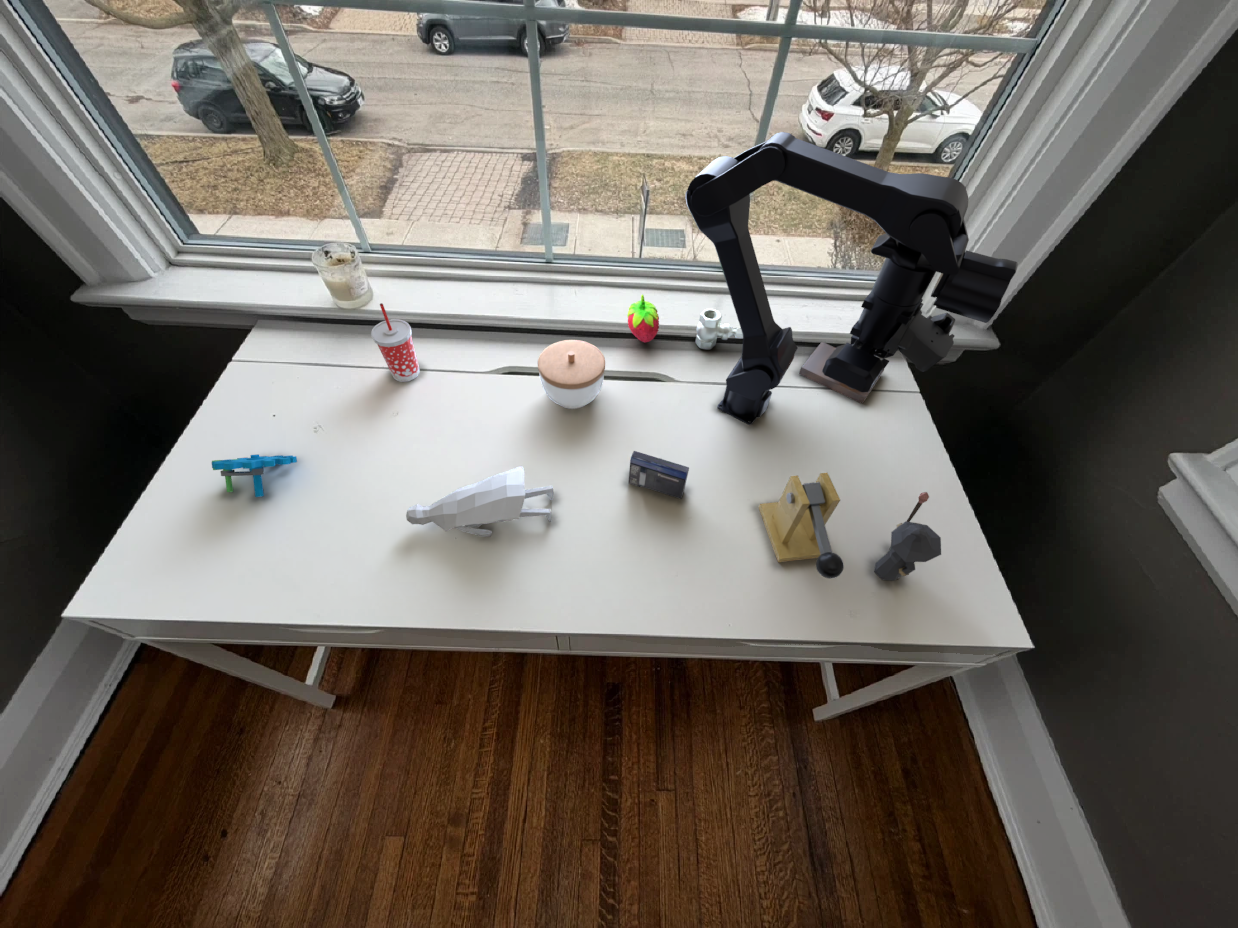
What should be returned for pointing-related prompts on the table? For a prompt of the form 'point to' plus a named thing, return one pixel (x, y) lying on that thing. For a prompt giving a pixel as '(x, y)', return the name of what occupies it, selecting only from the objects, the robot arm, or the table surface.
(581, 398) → the trinket box
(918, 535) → the wizard figurine
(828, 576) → the tap lever
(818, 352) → the control block
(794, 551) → the bracket
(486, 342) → the table surface
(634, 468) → the mini dv tape
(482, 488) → the superhero figure
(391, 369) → the beverage cup
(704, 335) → the valve
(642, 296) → the strawberry
